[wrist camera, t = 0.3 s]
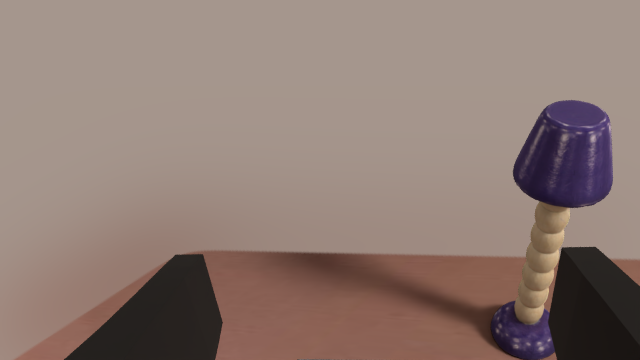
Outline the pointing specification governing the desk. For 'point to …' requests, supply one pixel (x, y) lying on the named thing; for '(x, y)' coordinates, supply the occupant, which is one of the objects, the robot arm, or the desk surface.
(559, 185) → the toy lamp
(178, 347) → the robot arm
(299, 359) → the panel
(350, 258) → the desk surface
